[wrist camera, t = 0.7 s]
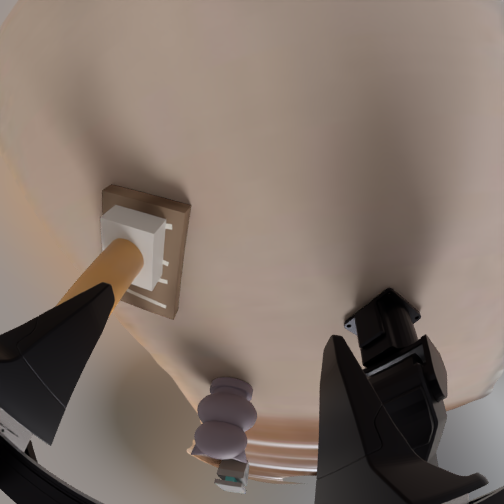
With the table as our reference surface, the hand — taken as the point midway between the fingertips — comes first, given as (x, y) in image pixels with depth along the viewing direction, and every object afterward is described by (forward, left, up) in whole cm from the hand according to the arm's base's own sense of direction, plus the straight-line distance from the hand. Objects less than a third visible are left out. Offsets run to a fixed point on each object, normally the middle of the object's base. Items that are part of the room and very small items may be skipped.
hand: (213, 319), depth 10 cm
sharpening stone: (-47, +77, -13) cm, 91 cm away
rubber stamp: (+6, +9, -11) cm, 16 cm away
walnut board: (+5, +12, -13) cm, 18 cm away
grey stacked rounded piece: (-14, +26, -13) cm, 33 cm away
